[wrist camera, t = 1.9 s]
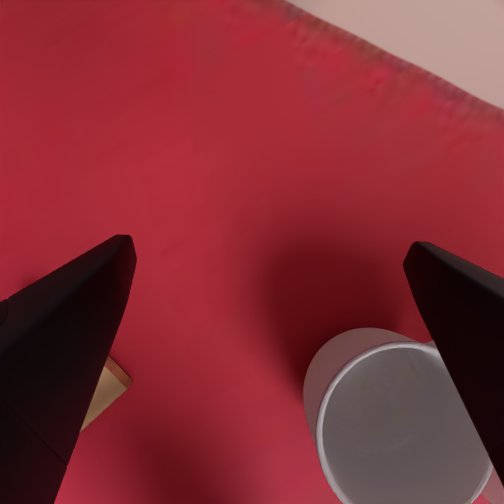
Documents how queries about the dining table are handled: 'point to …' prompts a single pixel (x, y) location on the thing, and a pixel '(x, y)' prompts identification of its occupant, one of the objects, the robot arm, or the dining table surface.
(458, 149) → the dining table surface
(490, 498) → the milk
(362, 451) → the teacup
